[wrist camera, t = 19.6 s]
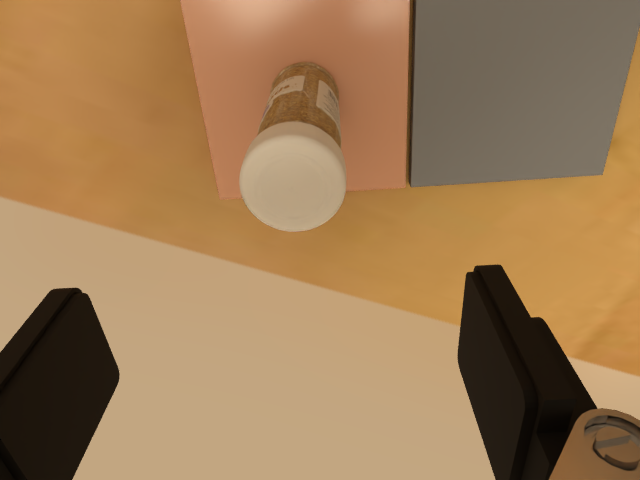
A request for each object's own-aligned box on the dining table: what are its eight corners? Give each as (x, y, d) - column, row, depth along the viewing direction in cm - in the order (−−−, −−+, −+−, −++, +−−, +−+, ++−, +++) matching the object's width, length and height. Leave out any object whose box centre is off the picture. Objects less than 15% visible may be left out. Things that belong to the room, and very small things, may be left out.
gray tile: (647, -48, 28) (658, -48, 27) (595, 169, 35) (602, 174, 34) (414, -29, 28) (417, -28, 27) (408, 181, 35) (411, 187, 34)
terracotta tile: (407, -28, 28) (410, -28, 28) (403, 181, 35) (405, 187, 34) (182, -10, 29) (178, -9, 28) (222, 193, 36) (219, 199, 35)
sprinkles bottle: (271, 57, 30) (236, 132, 18) (343, 63, 30) (353, 141, 19) (269, 128, 32) (238, 232, 21) (336, 133, 32) (341, 239, 21)
